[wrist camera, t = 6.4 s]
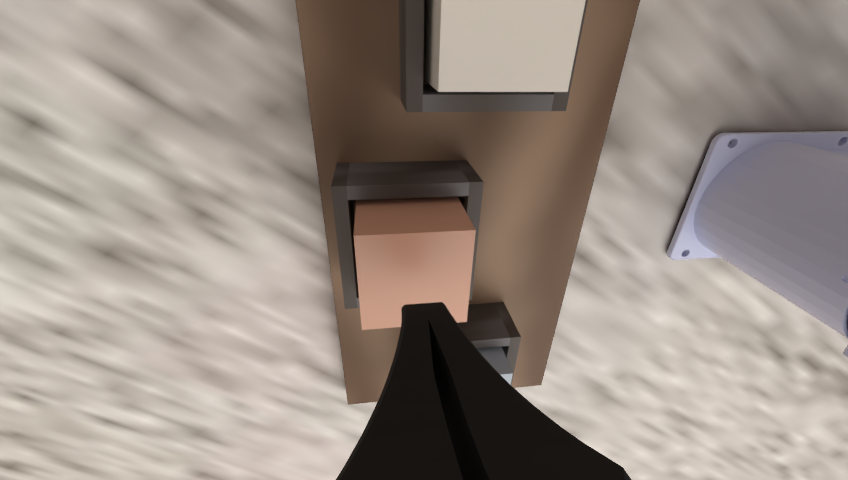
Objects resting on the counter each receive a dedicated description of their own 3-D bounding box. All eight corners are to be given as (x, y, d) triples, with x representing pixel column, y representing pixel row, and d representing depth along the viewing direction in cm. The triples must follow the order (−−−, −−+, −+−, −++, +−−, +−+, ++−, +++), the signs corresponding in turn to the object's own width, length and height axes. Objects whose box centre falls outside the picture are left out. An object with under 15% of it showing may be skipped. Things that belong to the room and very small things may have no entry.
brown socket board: (656, -128, 14) (749, -180, 11) (535, 373, 28) (559, 422, 24) (280, -158, 12) (246, -231, 9) (348, 392, 26) (345, 446, 23)
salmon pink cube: (456, 193, 16) (475, 230, 13) (451, 274, 19) (466, 322, 16) (356, 197, 16) (353, 235, 13) (362, 280, 18) (361, 330, 15)
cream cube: (547, -54, 13) (601, -78, 10) (528, 80, 15) (567, 92, 12) (426, -59, 13) (444, -88, 10) (424, 79, 15) (438, 91, 12)
